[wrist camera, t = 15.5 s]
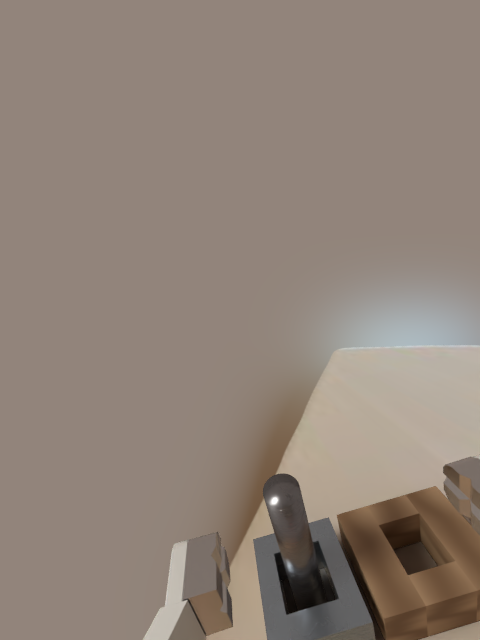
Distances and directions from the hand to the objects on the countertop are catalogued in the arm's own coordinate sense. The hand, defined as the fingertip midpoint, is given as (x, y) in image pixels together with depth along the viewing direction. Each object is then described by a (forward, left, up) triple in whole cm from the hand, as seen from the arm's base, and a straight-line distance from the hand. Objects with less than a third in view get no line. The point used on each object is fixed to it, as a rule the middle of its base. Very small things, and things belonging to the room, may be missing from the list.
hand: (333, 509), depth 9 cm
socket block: (+2, -11, -28) cm, 30 cm away
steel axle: (+2, -11, -28) cm, 30 cm away
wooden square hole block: (-10, -11, -28) cm, 32 cm away
